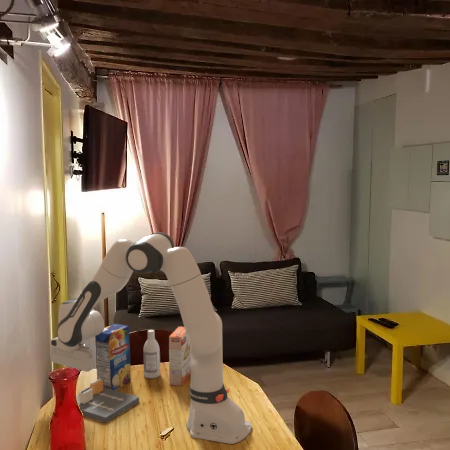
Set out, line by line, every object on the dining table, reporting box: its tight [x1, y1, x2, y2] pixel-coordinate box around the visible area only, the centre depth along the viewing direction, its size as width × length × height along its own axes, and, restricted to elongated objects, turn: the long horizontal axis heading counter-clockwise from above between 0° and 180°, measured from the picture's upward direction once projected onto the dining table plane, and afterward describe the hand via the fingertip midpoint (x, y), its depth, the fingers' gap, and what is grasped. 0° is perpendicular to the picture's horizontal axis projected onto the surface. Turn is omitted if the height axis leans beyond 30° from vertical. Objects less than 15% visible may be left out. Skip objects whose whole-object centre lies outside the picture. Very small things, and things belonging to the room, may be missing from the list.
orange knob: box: [89, 378, 103, 394], centre depth 190 cm, size 2×4×5 cm, turn 150°
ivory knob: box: [78, 386, 93, 404], centre depth 182 cm, size 2×4×5 cm, turn 150°
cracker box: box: [168, 326, 191, 387], centre depth 206 cm, size 14×6×21 cm, turn 168°
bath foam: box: [142, 329, 161, 379], centre depth 210 cm, size 7×7×20 cm
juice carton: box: [94, 323, 132, 391], centre depth 200 cm, size 12×8×24 cm, turn 150°
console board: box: [76, 387, 140, 424], centre depth 184 cm, size 22×18×2 cm
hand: (72, 377), depth 185 cm, fingers closed
